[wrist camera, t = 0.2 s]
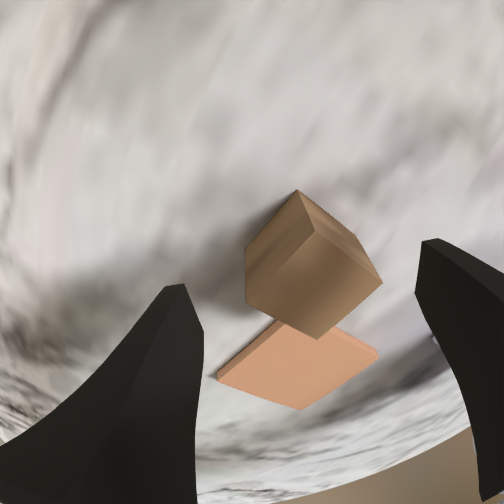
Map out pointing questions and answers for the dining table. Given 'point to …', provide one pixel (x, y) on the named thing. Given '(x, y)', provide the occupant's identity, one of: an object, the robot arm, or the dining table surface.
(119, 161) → the dining table surface
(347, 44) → the dining table surface
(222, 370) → the terracotta tile
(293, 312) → the walnut cube
